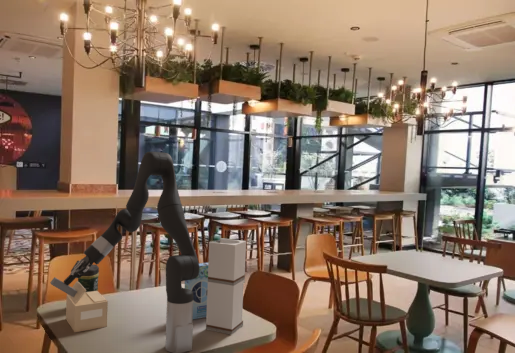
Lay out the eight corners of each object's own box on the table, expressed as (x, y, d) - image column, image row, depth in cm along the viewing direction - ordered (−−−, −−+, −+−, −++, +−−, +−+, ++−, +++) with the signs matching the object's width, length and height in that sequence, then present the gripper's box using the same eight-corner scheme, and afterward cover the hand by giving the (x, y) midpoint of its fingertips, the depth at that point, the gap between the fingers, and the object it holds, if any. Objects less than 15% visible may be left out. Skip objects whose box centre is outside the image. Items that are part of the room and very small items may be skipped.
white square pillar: (242, 325, 172) (246, 241, 171) (231, 334, 162) (235, 245, 161) (218, 320, 176) (221, 238, 175) (205, 329, 166) (209, 242, 165)
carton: (107, 326, 165) (107, 300, 165) (74, 332, 158) (75, 305, 158) (96, 313, 178) (96, 290, 178) (65, 318, 171) (66, 294, 171)
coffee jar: (91, 310, 182) (92, 268, 181) (73, 310, 182) (74, 267, 181) (100, 303, 191) (101, 263, 191) (83, 302, 191) (84, 262, 191)
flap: (86, 290, 161) (63, 276, 156) (75, 304, 159) (52, 290, 154) (78, 281, 172) (56, 268, 167) (68, 294, 170) (45, 281, 165)
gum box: (222, 310, 189) (224, 259, 189) (228, 313, 185) (230, 262, 185) (182, 317, 179) (184, 264, 178) (187, 321, 174) (189, 266, 174)
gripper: (88, 241, 174) (55, 273, 167) (96, 246, 163) (61, 282, 156) (100, 252, 177) (69, 285, 170) (110, 259, 166) (76, 294, 159)
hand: (65, 283), depth 163 cm, fingers closed
